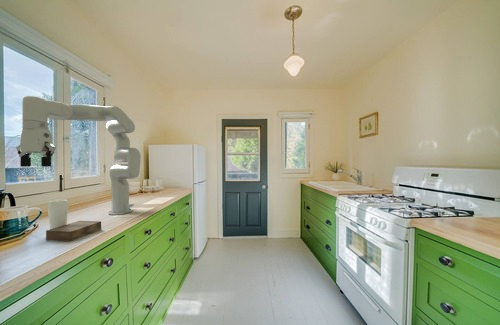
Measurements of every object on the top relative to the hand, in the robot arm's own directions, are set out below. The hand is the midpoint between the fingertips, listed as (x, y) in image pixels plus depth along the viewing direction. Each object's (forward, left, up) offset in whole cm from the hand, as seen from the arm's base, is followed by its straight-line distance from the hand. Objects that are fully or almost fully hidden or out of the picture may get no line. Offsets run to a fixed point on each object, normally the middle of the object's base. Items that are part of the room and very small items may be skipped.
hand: (36, 166), depth 82 cm
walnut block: (-7, +11, -31) cm, 34 cm away
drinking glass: (-8, 0, -31) cm, 32 cm away
